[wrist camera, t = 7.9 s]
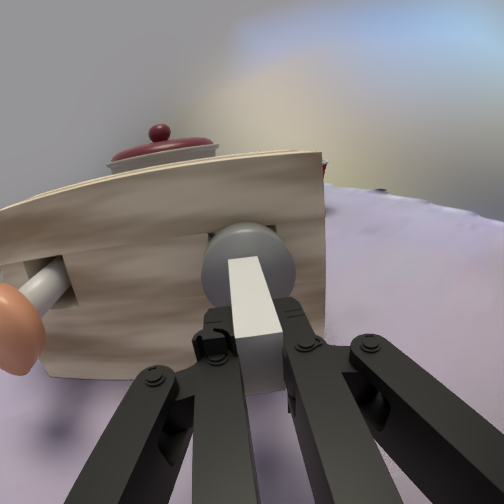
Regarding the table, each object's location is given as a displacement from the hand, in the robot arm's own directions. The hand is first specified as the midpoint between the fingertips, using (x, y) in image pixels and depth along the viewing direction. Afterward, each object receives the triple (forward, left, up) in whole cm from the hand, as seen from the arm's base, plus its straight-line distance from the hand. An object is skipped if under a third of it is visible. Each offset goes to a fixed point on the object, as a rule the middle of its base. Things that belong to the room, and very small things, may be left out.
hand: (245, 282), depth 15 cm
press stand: (+10, -1, -9) cm, 14 cm away
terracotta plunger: (+11, +9, -2) cm, 14 cm away
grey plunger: (+4, -5, -2) cm, 7 cm away
